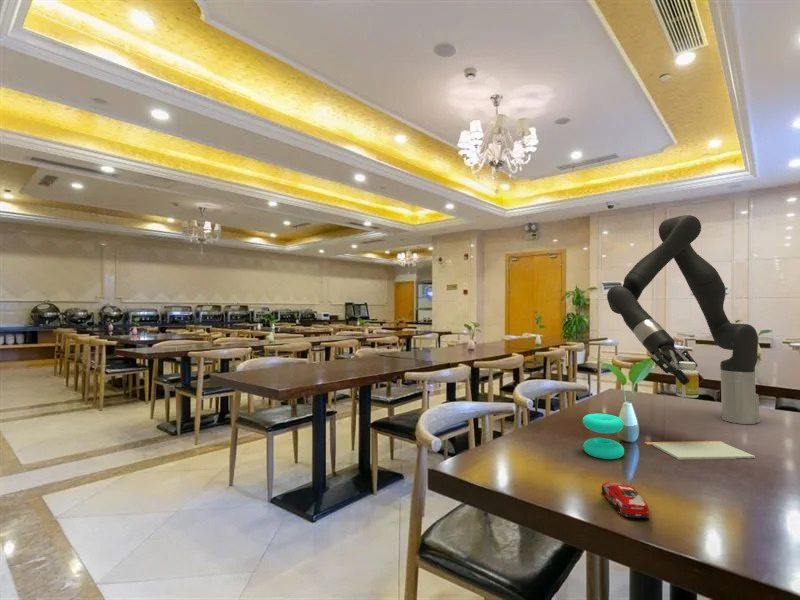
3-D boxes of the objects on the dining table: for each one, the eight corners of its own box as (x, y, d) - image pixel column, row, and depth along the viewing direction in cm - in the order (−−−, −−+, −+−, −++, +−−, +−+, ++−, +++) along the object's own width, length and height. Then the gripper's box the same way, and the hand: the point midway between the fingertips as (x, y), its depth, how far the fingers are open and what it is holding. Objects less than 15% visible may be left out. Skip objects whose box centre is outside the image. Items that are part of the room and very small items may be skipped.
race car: (598, 491, 92) (598, 472, 92) (625, 492, 91) (624, 473, 91) (621, 521, 79) (621, 499, 79) (653, 523, 78) (652, 501, 78)
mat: (722, 444, 120) (722, 442, 120) (755, 458, 109) (755, 456, 109) (652, 445, 120) (652, 443, 120) (678, 459, 109) (678, 457, 109)
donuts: (628, 416, 114) (617, 424, 107) (629, 453, 114) (618, 463, 107) (589, 410, 121) (577, 417, 114) (590, 445, 121) (577, 454, 114)
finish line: (720, 442, 122) (720, 441, 122) (724, 443, 121) (724, 442, 121) (644, 443, 122) (644, 442, 122) (647, 444, 121) (647, 443, 121)
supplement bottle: (673, 395, 121) (672, 362, 121) (680, 393, 124) (679, 360, 124) (694, 398, 117) (694, 364, 117) (701, 396, 120) (701, 362, 120)
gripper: (644, 329, 125) (686, 376, 113) (677, 328, 130) (720, 372, 119) (629, 346, 129) (667, 392, 118) (660, 344, 135) (700, 388, 124)
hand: (693, 382), depth 119 cm, fingers closed on supplement bottle, 5 cm apart
